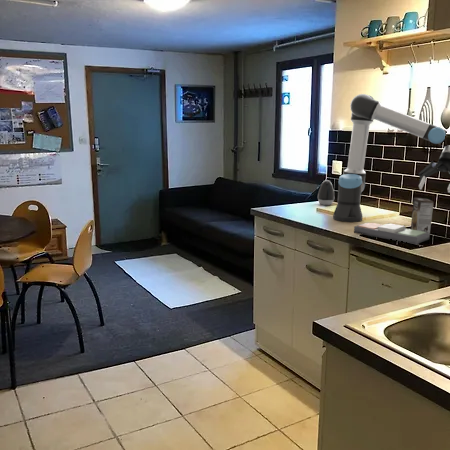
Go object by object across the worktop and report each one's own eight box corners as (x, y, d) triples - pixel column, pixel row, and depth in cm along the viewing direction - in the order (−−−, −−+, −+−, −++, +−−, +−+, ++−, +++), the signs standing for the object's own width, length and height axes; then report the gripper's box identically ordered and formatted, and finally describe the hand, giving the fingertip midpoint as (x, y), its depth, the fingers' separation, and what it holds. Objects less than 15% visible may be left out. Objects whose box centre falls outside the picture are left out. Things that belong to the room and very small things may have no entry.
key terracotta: (358, 230, 229) (358, 225, 229) (369, 226, 237) (369, 222, 237) (373, 233, 224) (374, 228, 224) (384, 229, 232) (385, 225, 231)
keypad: (353, 232, 230) (354, 226, 229) (367, 228, 239) (368, 222, 239) (416, 244, 210) (417, 237, 209) (429, 239, 219) (429, 232, 219)
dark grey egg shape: (317, 205, 300) (318, 180, 297) (317, 202, 310) (318, 178, 307) (334, 206, 298) (336, 181, 295) (333, 203, 308) (335, 179, 305)
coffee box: (409, 230, 236) (413, 197, 232) (423, 231, 235) (426, 197, 232) (416, 235, 227) (419, 200, 223) (430, 235, 226) (434, 201, 223)
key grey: (377, 231, 223) (377, 226, 222) (388, 227, 231) (388, 223, 230) (394, 234, 217) (394, 229, 217) (404, 230, 225) (405, 225, 225)
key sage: (397, 237, 217) (397, 232, 216) (407, 233, 224) (408, 229, 224) (415, 240, 211) (415, 235, 211) (425, 236, 219) (425, 231, 219)
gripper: (476, 163, 237) (462, 197, 229) (425, 159, 253) (410, 191, 246) (474, 152, 232) (459, 187, 224) (422, 149, 249) (406, 181, 241)
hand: (433, 189), depth 235 cm, fingers open, 13 cm apart
